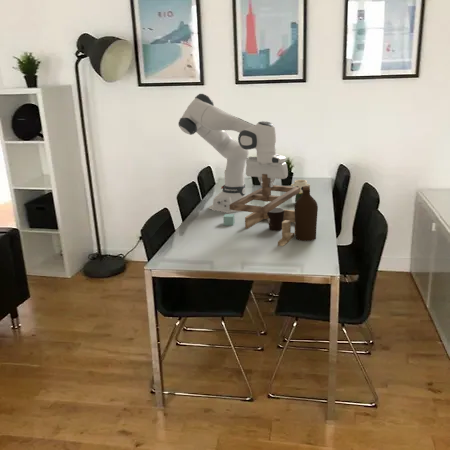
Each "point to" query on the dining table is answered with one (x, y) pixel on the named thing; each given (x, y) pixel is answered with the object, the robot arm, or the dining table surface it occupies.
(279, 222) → the coffee mug
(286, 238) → the tan blocky wooden part
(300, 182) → the character mug
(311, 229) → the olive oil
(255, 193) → the brown rectangular open frame
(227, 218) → the teal cube
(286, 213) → the frame
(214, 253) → the dining table surface
